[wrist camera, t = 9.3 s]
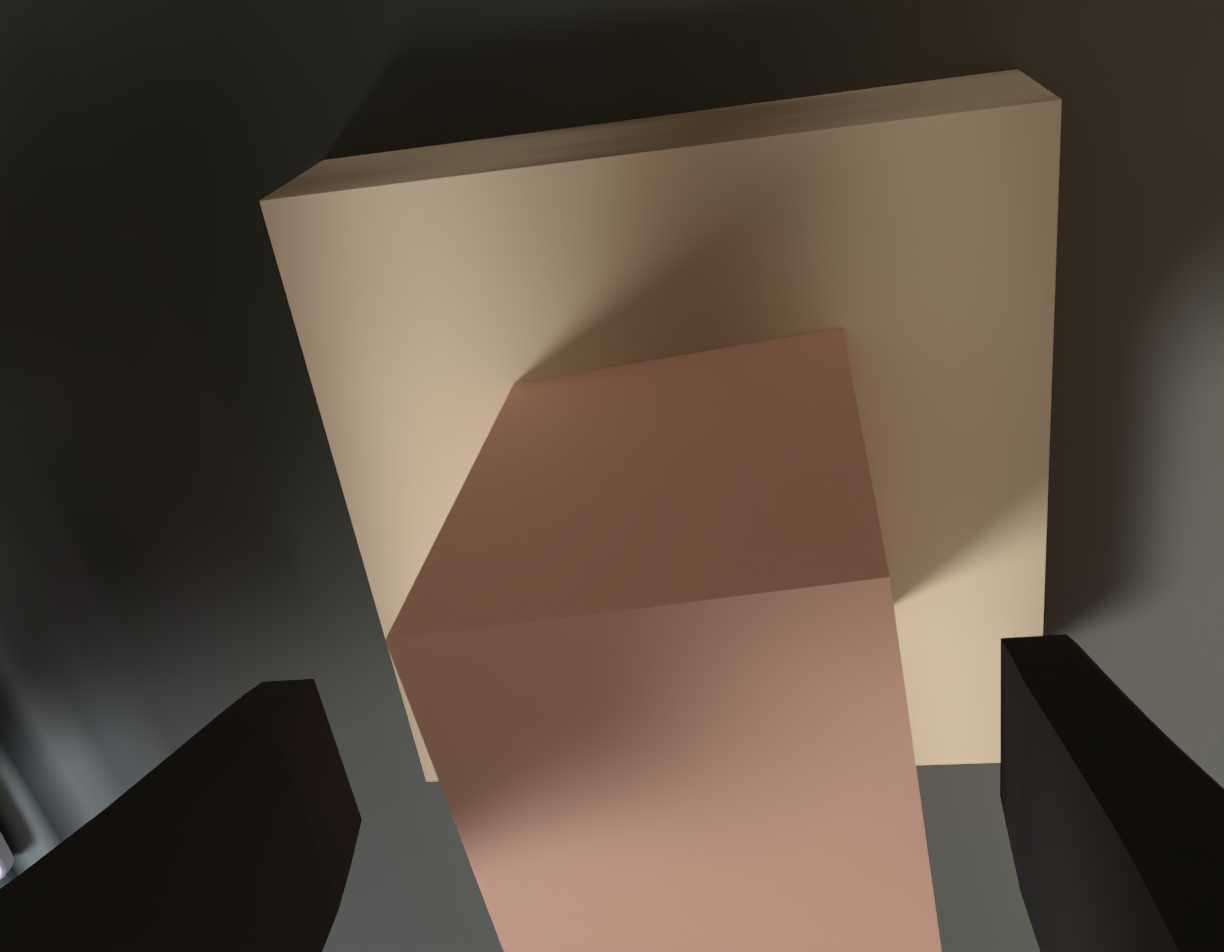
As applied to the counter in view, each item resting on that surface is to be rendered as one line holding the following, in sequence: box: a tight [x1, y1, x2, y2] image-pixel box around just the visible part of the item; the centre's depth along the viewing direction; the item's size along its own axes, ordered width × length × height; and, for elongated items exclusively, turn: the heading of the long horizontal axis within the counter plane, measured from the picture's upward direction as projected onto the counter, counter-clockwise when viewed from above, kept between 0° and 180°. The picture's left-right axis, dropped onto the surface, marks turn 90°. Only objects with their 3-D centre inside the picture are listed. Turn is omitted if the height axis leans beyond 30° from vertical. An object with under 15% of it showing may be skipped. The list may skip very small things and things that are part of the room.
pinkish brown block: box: [385, 328, 942, 952], centre depth 13 cm, size 4×4×6 cm
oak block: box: [259, 69, 1062, 782], centre depth 17 cm, size 10×10×3 cm
